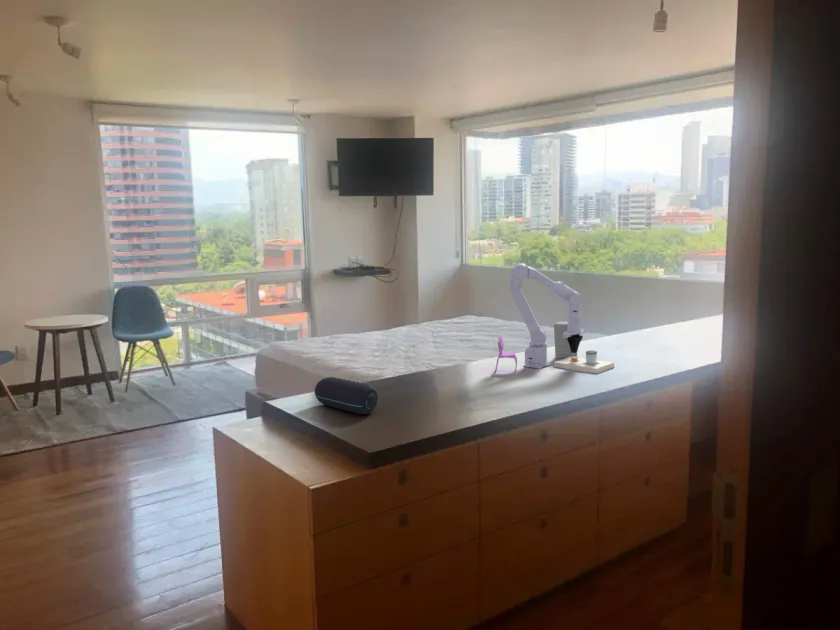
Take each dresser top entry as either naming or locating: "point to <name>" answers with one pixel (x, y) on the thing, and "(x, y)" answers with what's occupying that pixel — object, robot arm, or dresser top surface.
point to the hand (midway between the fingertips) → (574, 352)
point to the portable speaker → (346, 395)
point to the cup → (591, 357)
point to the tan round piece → (574, 359)
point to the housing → (584, 365)
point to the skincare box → (562, 341)
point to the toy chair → (504, 355)
